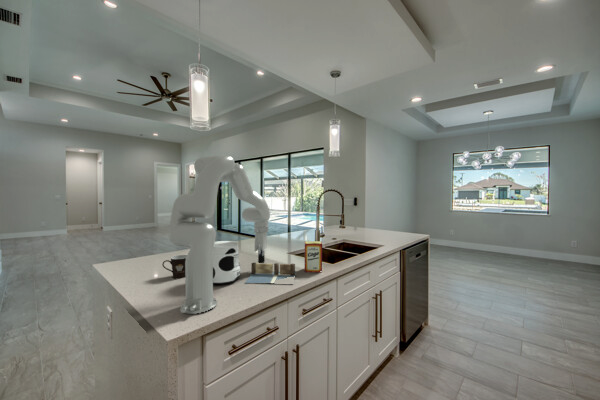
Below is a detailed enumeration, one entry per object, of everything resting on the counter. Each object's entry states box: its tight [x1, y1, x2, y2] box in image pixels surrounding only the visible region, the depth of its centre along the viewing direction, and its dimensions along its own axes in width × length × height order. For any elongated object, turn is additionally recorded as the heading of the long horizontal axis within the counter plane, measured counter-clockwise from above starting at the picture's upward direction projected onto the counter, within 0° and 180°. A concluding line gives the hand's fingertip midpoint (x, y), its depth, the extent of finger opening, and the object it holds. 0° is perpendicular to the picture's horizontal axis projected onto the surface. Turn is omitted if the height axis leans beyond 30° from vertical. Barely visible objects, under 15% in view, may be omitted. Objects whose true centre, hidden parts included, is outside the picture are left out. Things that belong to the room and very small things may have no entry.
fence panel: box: [250, 262, 274, 274], centre depth 129 cm, size 11×2×5 cm, turn 86°
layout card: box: [244, 270, 297, 284], centre depth 125 cm, size 18×23×1 cm
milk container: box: [213, 240, 242, 285], centre depth 120 cm, size 17×17×18 cm
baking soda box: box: [304, 240, 323, 273], centre depth 137 cm, size 10×6×16 cm
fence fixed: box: [273, 262, 296, 276], centre depth 129 cm, size 11×2×6 cm, turn 86°
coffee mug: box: [161, 254, 188, 280], centre depth 126 cm, size 12×9×10 cm
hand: (261, 262), depth 136 cm, fingers closed
